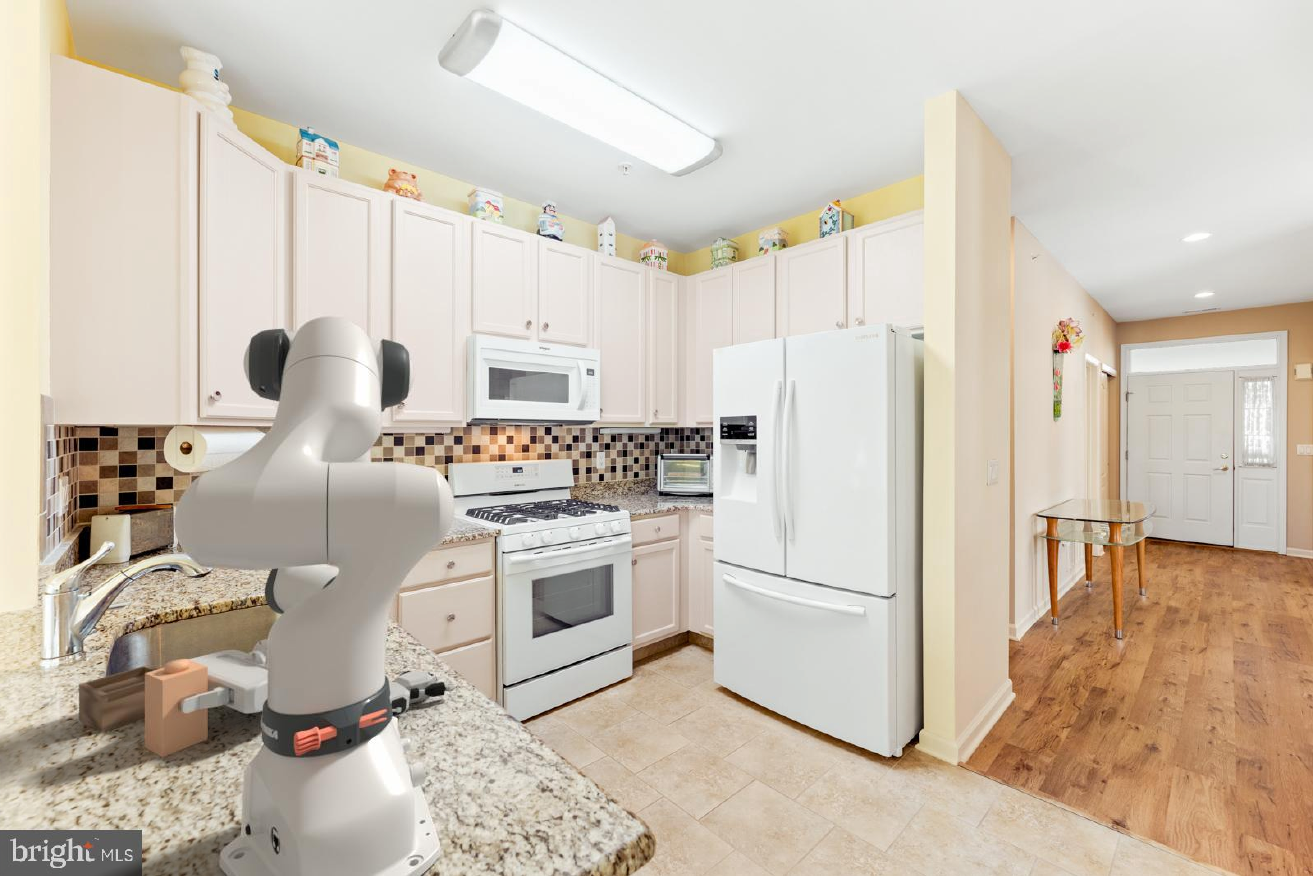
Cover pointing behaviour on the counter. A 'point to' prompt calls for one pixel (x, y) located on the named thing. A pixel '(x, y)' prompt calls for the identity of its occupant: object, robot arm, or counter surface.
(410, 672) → the robot toy
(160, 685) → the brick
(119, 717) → the brown wooden box
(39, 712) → the counter surface
